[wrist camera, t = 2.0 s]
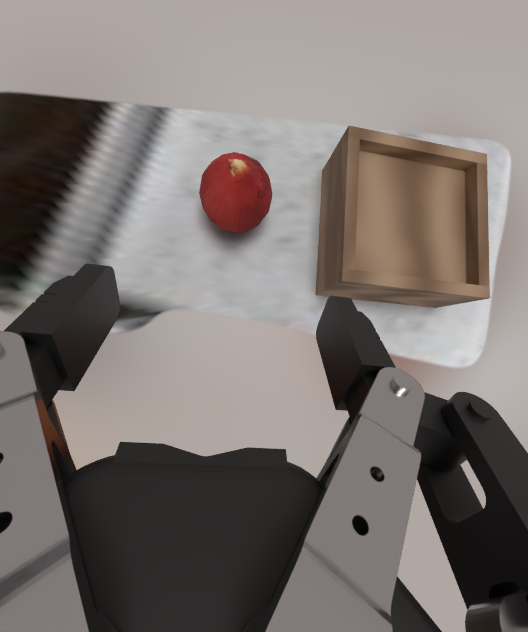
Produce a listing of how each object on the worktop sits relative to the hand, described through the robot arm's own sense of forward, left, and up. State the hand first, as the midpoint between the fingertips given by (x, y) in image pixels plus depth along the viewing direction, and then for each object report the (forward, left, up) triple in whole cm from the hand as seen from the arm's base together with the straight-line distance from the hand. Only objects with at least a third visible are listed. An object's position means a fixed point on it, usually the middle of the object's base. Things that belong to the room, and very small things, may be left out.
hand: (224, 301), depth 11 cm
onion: (0, +11, -15) cm, 18 cm away
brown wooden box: (+15, +11, -15) cm, 24 cm away
